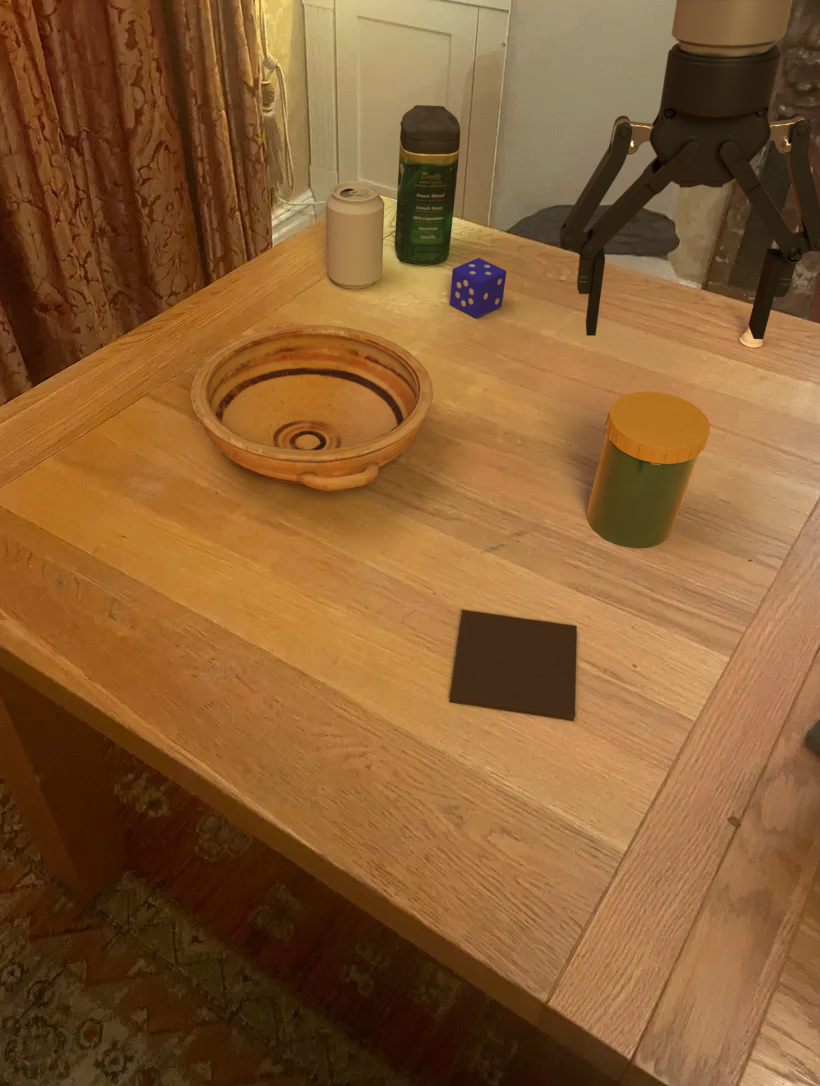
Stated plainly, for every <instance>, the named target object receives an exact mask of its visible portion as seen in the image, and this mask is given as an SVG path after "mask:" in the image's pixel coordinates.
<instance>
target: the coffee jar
mask: <svg viewBox="0 0 820 1086" xmlns="http://www.w3.org/2000/svg"><path fill="white" fill-rule="evenodd" d="M460 125H461V124H460V122H459V120H458V118H457V117H456V116H455V115H454V114H453V113H452V112H451V111H449V110H448V109H446V107H445V106H443V105H428V104H427V105H425V104H422V105H421V104H416V105H413V107H412V108H411V109H409V110H408V111H406V112H405V113H404V114H403V116H402V118H401V121H400V134H399V151H398V152H399V153H398V155H399V157H398V174H397V191H396V192H397V193H396V209H395V226H394V228H395V229H394V249H395V253H396V256H397V258H399V259H400V260H401V261H403V262H408V263H411V264H415V265H417V266H430V265H434V264H438V263H442V262H443V263H444V262H445V261H446V260H447V259H448V258H449V256H450V248H451V240H452V229H453V221H454V220H453V218H454V210H455V203H456V202H455V201H456V192H457V182H458V171H459V157H460V145H461V126H460Z"/></svg>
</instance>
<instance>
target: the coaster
mask: <svg viewBox="0 0 820 1086" xmlns="http://www.w3.org/2000/svg"><path fill="white" fill-rule="evenodd" d="M458 631H459V632H458V638H457V644H456V645H457V647H456V652H455V661H454V666H453V674H452V680H451V687H450V693H449V701H448V702H449V703H453V704H459V705H467V706H471V707H473V706H474V707H479V708H486V709H491V710H497V711H506V712H511V713H518V714H519V713H520V714H524V715H531V716H539V717H544V718H551V719H557V720H564V721H572V722H574V721H575V718H576V688H577V687H576V684H577V682H576V681H577V640H578V639H577V637H578V626H577V625H573V624H566V623H559V622H553V621H544V620H538V619H530V618H523V617H517V616H510V615H504V614H503V615H502V614H495V613H489V612H481V611H474V610H468V609H462V610H461V619H460V624H459V630H458Z"/></svg>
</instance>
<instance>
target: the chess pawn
mask: <svg viewBox="0 0 820 1086" xmlns="http://www.w3.org/2000/svg"><path fill="white" fill-rule="evenodd" d="M763 340H764V338H763V339H753V336H752V333H751V330H750V328H749V327H748V328H747V330H746V331H745V332H743V334H742V335H741V336H740V337H739V343H741V345H743V346H745V347H746V348H749V349H750V348H751V349H757V348H760V347H762V346H763V344H764V341H763Z"/></svg>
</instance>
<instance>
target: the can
mask: <svg viewBox="0 0 820 1086" xmlns="http://www.w3.org/2000/svg"><path fill="white" fill-rule="evenodd" d="M330 193H331V194H330V195H328V197H327V199H326V201H325V231H326V233H325V236H326V239H325V241H326V243H325V244H326V274H327V277H328V278H330V279H331V281H333V282H334V284H336V285H337V286H339V287H341V288H346V289H354V290H355V289H356V290H357V289H364V288H368V287H370V286H372V285H374V284H375V282H377V281H378V280H379V279H380V278H381V277H382V273H383V256H384V255H383V253H384V252H383V251H384V222H385V201H384V199H383V197H382V196H381V195H380V193H381V191H380V189H379V187H378V186H376V185H375V184H373V183H371V182H366V181H361V180H347V181H341V182H339V183H336V184H335V185H333V186H332V187H331V188H330Z"/></svg>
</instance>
